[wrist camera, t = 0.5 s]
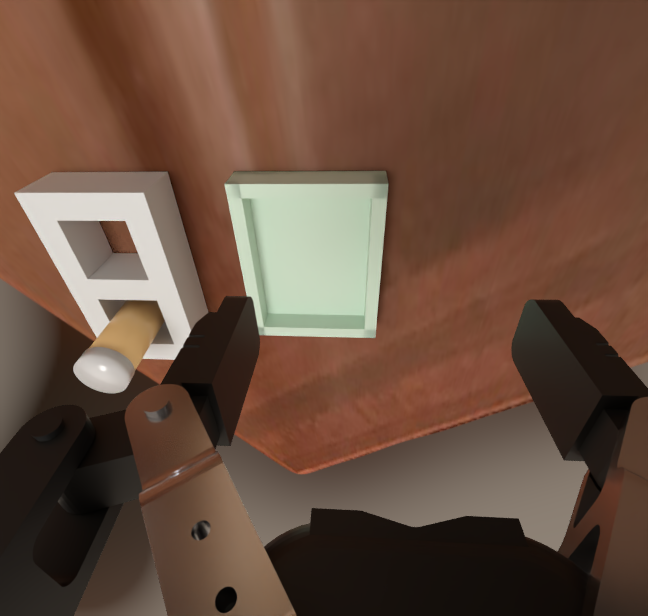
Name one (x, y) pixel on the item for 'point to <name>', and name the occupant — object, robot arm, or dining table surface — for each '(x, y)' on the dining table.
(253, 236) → the parts tray
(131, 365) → the fuse
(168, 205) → the frame
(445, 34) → the dining table surface
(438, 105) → the dining table surface
